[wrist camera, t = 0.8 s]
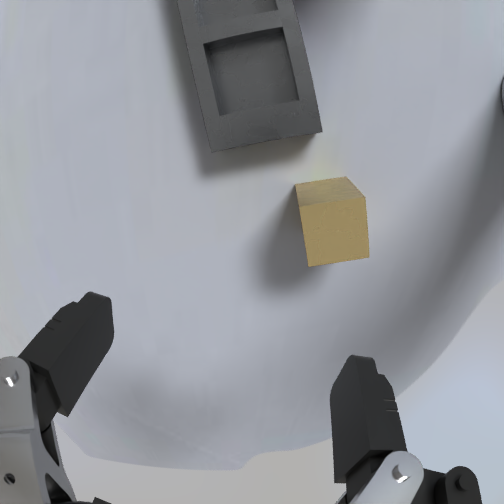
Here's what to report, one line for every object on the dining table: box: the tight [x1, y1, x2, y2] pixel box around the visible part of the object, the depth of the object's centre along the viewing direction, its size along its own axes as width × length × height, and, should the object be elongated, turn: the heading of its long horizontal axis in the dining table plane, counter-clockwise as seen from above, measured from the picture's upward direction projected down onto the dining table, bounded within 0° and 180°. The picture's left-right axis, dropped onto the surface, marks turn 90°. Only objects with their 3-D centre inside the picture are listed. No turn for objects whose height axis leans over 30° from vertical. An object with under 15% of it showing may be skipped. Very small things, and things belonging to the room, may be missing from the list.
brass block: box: [295, 177, 369, 267], centre depth 26 cm, size 5×5×7 cm
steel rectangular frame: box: [177, 0, 322, 152], centre depth 21 cm, size 9×20×3 cm, turn 12°
